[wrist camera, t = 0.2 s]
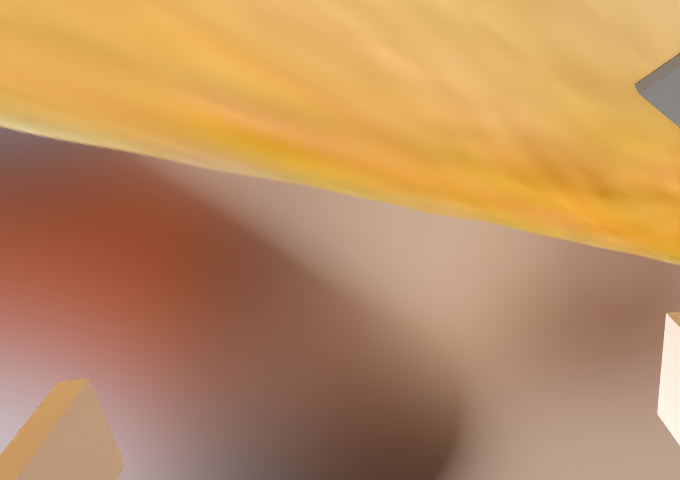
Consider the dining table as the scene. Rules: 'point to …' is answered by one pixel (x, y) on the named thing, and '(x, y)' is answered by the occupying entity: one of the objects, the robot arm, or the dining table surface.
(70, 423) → the robot arm
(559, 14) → the dining table surface
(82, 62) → the dining table surface
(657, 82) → the mat
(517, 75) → the dining table surface
